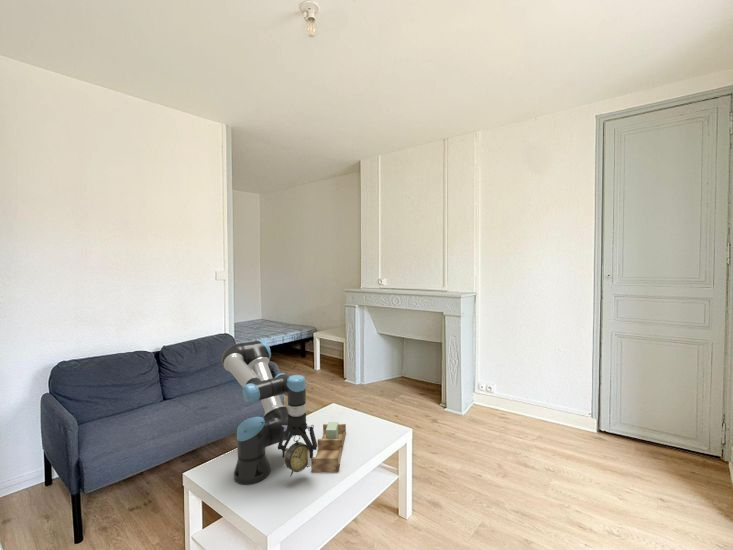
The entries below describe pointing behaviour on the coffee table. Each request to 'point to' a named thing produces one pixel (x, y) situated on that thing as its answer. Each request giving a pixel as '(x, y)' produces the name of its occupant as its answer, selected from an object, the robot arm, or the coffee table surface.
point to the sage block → (332, 430)
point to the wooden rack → (329, 452)
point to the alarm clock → (297, 457)
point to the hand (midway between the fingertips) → (298, 464)
